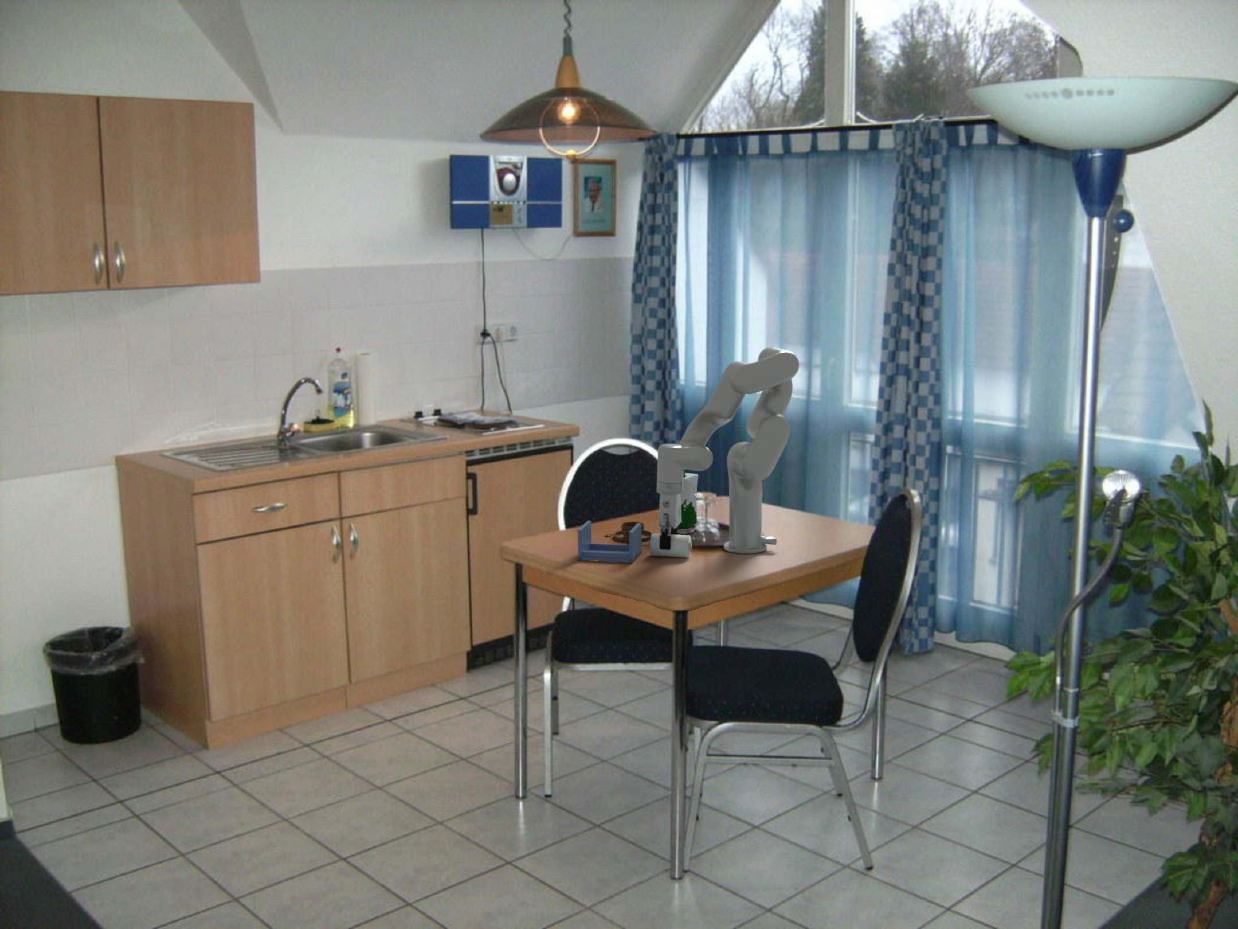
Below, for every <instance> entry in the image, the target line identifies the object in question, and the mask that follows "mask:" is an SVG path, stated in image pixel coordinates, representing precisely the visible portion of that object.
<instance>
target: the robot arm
mask: <svg viewBox="0 0 1238 929" xmlns="http://www.w3.org/2000/svg"><path fill="white" fill-rule="evenodd" d="M757 357H758V358H757V361H754V362H751V363H750V362H749V363H748V362H744V361H739V360H738V361H733V362H730V363H729V364H728V365H727V366H726V368H725V369H724V371H723V373H722V374H721V377H720V378H719V380H718V382H717V383H716V386H715V388H714V390H713V392H712V394H711V396H710V397H709V399H708V401H707V403H706V405H705V406H704V408H703V409H701V411H699V413H698V414H697V415H696V416H695V417H694V418H693V419H692V421H691V422H690V423H689V425H688V426H687V428H686V430H685V432H684V434H683V436H682V437H681V440H680V441H679V443H678V444H677V443H663V444H661V445H659V446H658V448H657V465H656V466H657V469H656V470H657V472H656V493H658V494H659V495H660V496H659V507H658V508H659V509H658V510H659V511H658V525H659V528H660V532H659V534H660V546H659V548H660V549H664V550H670V549H671V536H670V534H671V535H678V534H677V530H678V528H677V526H678V525H679V524H680V522H681V494H682V493H683V475H684V470H685V471H686V470H687V471H693V472H694V471H695V472H702V471H706V470H707V469H709V468H710V467H711V466H712V464H713V462H714V455H713V453H712V450H711V449H709V448H708V447H707V446H706V445H707V443H708V441H709V439H710V438H711V436H712V435H713V433H714V432H715V431H716V430H718V429H719V428H721V427H722V426H725V425H726V424H728V423H729V422H731V421H732V420H733V419H734V417H735V415H736V414H737V411H738V409H739V408H740V406H741V403H742V402H743V400H744V398H745V396H746V395H752V394H756V393H760V392H761V393H760V396H759V398H758V400H757V401H756V403H755V404H756V405H755V406H754V408H753V410H752V412H751V413H750V416H749V418H748V419H747V422H746V432H747V434H748V435H749V437H750V438H752V439H753V440H752V441H751V442H748V441H741V442H737V443H735V444H734V445H732V446H731V448H730V449H729V450H728V453H727V456H726V457H727V458H726V466H727V474H728V475H727V476H728V487H729V492H728V493H729V497H728V500H729V502H728V503H729V504H728V505H729V506H728V507H729V510H728V514H729V515H728V521H729V522H728V525H729V526H728V537H729V538H728V541H726V542H724V543H723V549H724V550H725V551H727V552H730V553H733V554H734V553H735V554H748V555H749V554H758V553H762V552H765V551H766V550H767V549H768V546H767V545H772V546H777V543H778V542H777V540H778V539H777V538H776V537H774V536H766V535H764V534H765V532H764V531H763V530H762V528H763V526H762V525H763V524H762V523H763V522H762V521H763V520H762V518H763V517H762V516H763V513H762V512H763V511H762V510H763V483H762V481H763V480H765V479H767V478H768V477H769V476H770V475H771V474H772V472H773V471H774V469H775V467H776V465H777V463H778V462H779V460H780V457H781V455H782V453H783V451H784V449H785V447H786V445H787V443H788V440H789V438H790V435H791V434H790V432H791V430H790V429H791V427H790V423H789V422H788V419H787V418H786V417H785V413H786V411H787V408H788V406H789V404H790V403H791V402H790V401H791V399H792V395H793V387H794V386H793V378H794V377H795V376H796V375H797V374H798V372H799V368H800V361H799V358H798V357H797V355H796V354H795V353H794V352H792V351H789V350H787V349H783V348H779V347H774V346H772V347H766V348H763V350H761V351H760V353H759V354H758V356H757Z"/></svg>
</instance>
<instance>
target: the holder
mask: <svg viewBox="0 0 1238 929" xmlns="http://www.w3.org/2000/svg"><path fill="white" fill-rule="evenodd" d="M641 523H642V522H641ZM641 523H637V524H636V525H635V526H634V528H633V529H632V530H631V531H630V532H629V545H627V544H617V543H616V544H615V543H597V542H596V543H595V542H594V543H593V542H592V521H591V520H587V521H586V522H585V523H584V524H582V526H580V527H579V528H578V529H577V558H578V559H577V560H598V561H605V562H604V563H617V562H625V563H624V564H634V563H635V562H636V560H637V559H639V557H640V555H642V542H641V538H642V536H641ZM638 556H639V557H638ZM598 561H597V562H598ZM633 562H634V563H633Z"/></svg>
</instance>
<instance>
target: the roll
mask: <svg viewBox="0 0 1238 929" xmlns="http://www.w3.org/2000/svg"><path fill="white" fill-rule="evenodd" d="M670 536H671V549H670V550H664V549H660V548H659V546H660V533H652V536H651V539H650V540H649V544H648V545H649V551H650V555H651V557H665V556H667V557H670V558H690V557H689V556H691V552H692V550H693V542H692V538H691V535H690V534H688V535H681V534H677V535H671V534H670Z"/></svg>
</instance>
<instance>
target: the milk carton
mask: <svg viewBox="0 0 1238 929" xmlns="http://www.w3.org/2000/svg"><path fill="white" fill-rule="evenodd" d="M698 479H699V474H697V473H687V472H686V470H684V475H683V493H682V494H681V522H680V524H679V525H678V526H677V528H678V529H688V528H691V527H692V526H694V524H696V523H697V524H698V521H697V520H698V519H697V518H698V516H697V509H698V508H697V507H698V506H697V503H698V502H697V501H698V500H697V499H698V498H696V496H697V495H696V496H695V495H694V494H698V492H697V488H698Z"/></svg>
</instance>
